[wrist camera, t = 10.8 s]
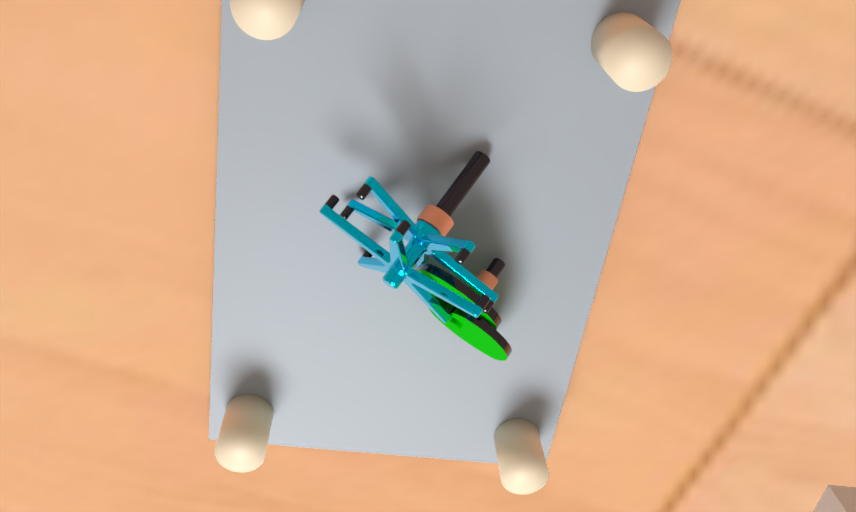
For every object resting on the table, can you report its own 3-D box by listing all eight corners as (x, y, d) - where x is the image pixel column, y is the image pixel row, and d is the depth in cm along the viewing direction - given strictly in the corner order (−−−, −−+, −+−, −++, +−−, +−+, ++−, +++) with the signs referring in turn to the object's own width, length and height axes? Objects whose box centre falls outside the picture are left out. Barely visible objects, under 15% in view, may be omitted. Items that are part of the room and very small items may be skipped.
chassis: (213, 424, 42) (196, 481, 39) (229, -76, 31) (208, -62, 27) (540, 452, 44) (554, 508, 41) (671, -7, 33) (707, 14, 29)
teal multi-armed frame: (278, 204, 33) (395, 251, 27) (377, 80, 34) (507, 100, 29) (424, 348, 40) (539, 407, 35) (499, 241, 42) (620, 281, 37)
